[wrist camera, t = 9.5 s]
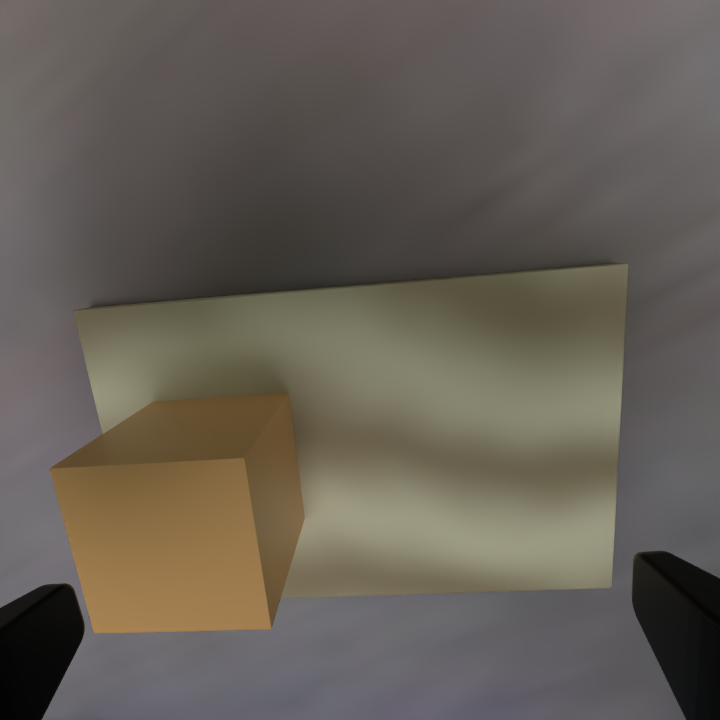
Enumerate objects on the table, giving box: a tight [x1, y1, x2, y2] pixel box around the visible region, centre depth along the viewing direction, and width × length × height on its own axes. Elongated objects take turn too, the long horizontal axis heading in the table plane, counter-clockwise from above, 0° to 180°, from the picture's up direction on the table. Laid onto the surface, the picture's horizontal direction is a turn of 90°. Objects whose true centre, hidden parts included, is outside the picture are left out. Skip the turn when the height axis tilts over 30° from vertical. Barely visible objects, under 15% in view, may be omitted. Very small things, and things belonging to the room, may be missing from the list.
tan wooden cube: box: [50, 393, 305, 633], centre depth 15 cm, size 5×5×6 cm
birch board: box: [73, 263, 629, 598], centre depth 18 cm, size 13×20×1 cm, turn 95°
